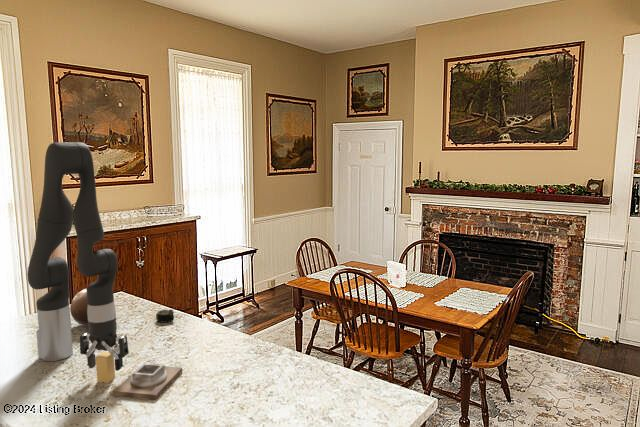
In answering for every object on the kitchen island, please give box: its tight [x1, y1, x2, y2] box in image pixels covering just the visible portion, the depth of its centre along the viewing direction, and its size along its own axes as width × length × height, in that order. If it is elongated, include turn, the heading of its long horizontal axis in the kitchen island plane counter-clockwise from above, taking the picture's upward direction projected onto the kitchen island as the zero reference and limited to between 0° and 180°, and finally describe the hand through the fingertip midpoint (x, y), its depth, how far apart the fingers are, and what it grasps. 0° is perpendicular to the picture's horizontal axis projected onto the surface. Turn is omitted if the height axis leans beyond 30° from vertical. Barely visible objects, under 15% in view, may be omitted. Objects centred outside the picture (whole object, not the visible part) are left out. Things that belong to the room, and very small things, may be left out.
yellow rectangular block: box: [95, 351, 116, 384], centre depth 137 cm, size 4×4×8 cm
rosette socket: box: [112, 362, 183, 401], centre depth 135 cm, size 13×16×4 cm
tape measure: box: [155, 308, 175, 323], centre depth 184 cm, size 7×7×4 cm
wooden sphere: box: [69, 288, 88, 327], centre depth 179 cm, size 15×15×15 cm
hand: (105, 368), depth 137 cm, fingers open, 8 cm apart
